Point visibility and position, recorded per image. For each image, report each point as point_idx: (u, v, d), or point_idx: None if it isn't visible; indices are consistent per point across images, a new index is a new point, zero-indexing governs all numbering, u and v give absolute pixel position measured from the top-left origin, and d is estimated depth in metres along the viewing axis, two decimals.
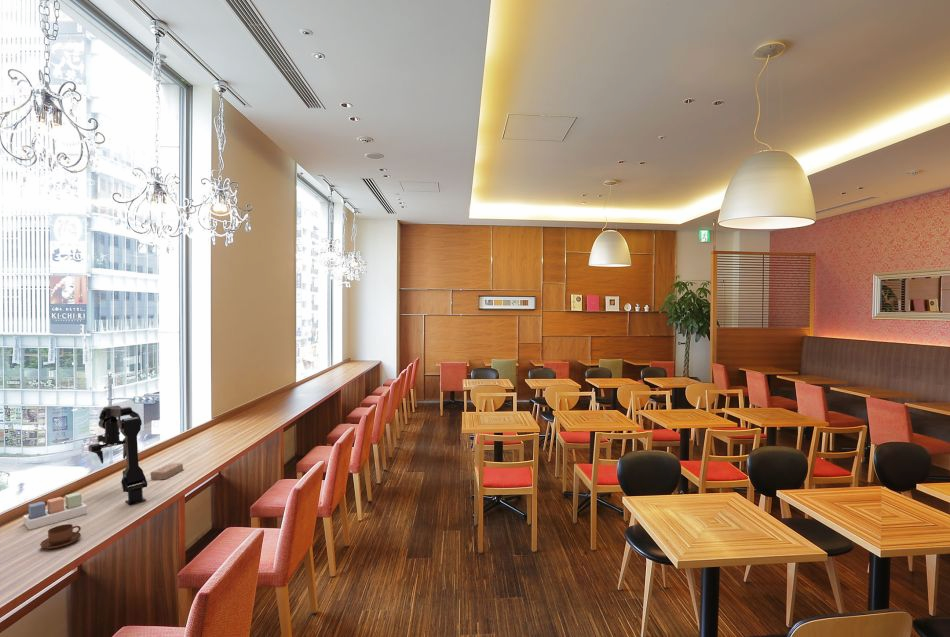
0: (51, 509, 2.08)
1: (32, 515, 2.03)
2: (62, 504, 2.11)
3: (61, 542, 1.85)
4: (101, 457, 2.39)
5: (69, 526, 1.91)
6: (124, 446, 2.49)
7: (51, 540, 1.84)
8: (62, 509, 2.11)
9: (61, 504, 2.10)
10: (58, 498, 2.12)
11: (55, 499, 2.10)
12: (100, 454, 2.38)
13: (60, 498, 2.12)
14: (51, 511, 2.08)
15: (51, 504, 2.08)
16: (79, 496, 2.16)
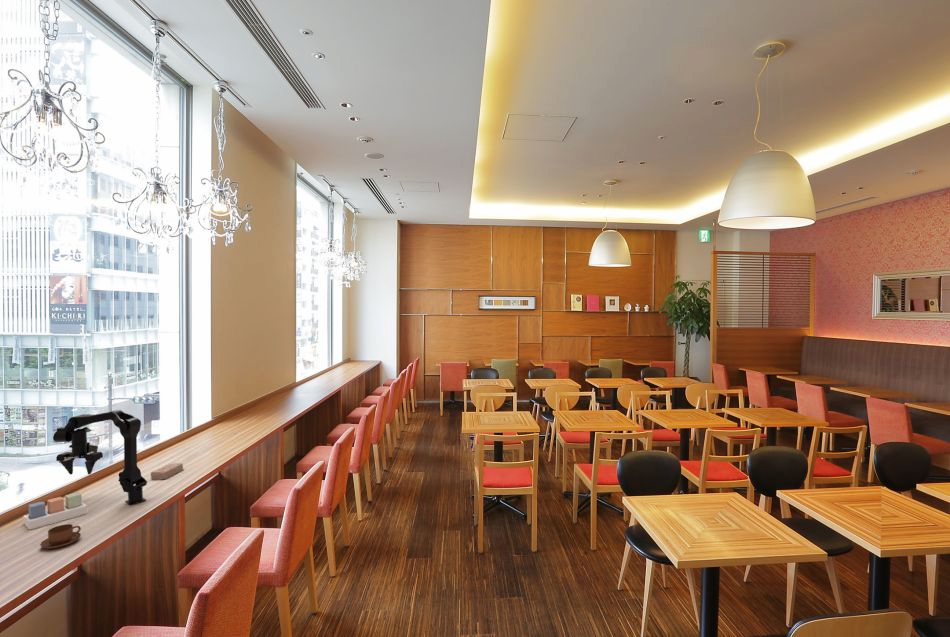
0: (51, 509, 2.08)
1: (32, 515, 2.03)
2: (62, 504, 2.11)
3: (61, 542, 1.85)
4: (66, 468, 2.27)
5: (69, 526, 1.91)
6: None
7: (51, 540, 1.84)
8: (62, 509, 2.11)
9: (61, 504, 2.10)
10: (58, 498, 2.12)
11: (55, 499, 2.10)
12: (63, 465, 2.27)
13: (60, 498, 2.12)
14: (51, 511, 2.08)
15: (51, 504, 2.08)
16: (79, 496, 2.16)
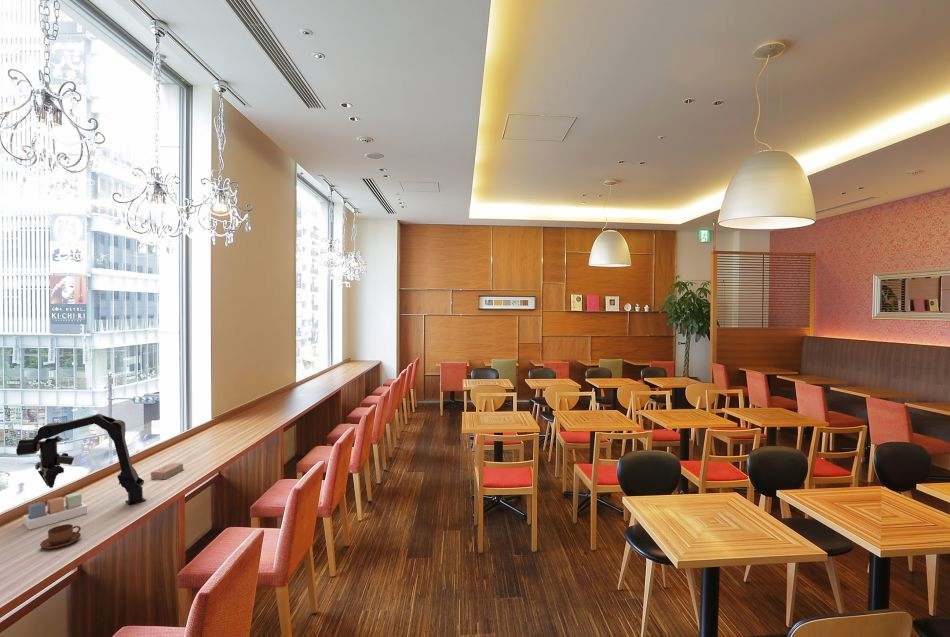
0: (51, 509, 2.08)
1: (32, 515, 2.03)
2: (62, 504, 2.11)
3: (61, 542, 1.85)
4: (42, 478, 2.16)
5: (69, 526, 1.91)
6: None
7: (51, 540, 1.84)
8: (62, 509, 2.11)
9: (61, 504, 2.10)
10: (58, 498, 2.12)
11: (55, 499, 2.10)
12: (40, 475, 2.16)
13: (60, 498, 2.12)
14: (51, 511, 2.08)
15: (51, 504, 2.08)
16: (79, 496, 2.16)
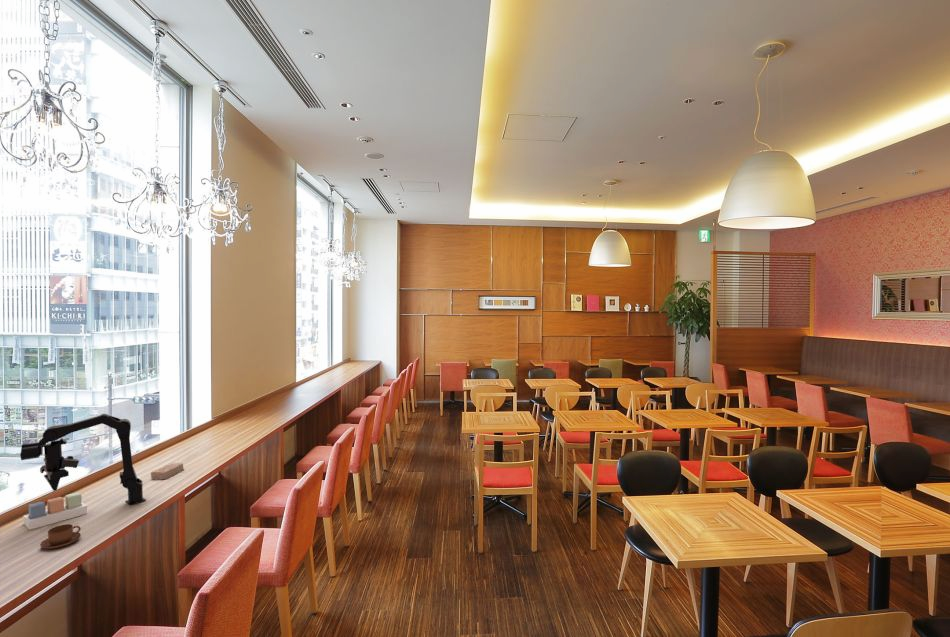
0: (51, 509, 2.08)
1: (32, 515, 2.03)
2: (62, 504, 2.11)
3: (61, 542, 1.85)
4: None
5: (69, 526, 1.91)
6: None
7: (51, 540, 1.84)
8: (62, 509, 2.11)
9: (61, 504, 2.10)
10: (58, 498, 2.12)
11: (55, 499, 2.10)
12: (46, 479, 2.10)
13: (60, 498, 2.12)
14: (51, 511, 2.08)
15: (51, 504, 2.08)
16: (79, 496, 2.16)
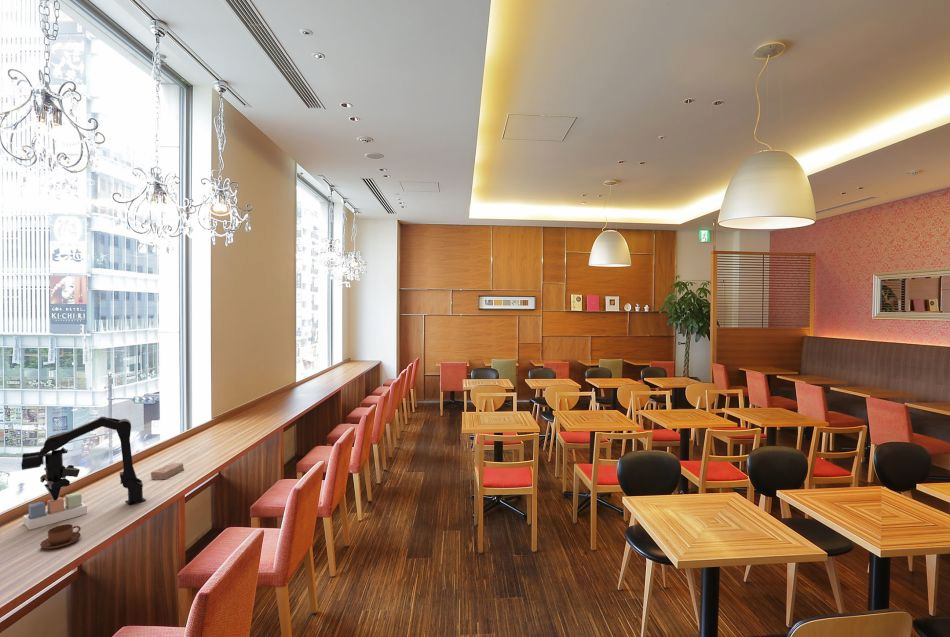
0: (51, 509, 2.08)
1: (32, 515, 2.03)
2: (62, 504, 2.11)
3: (61, 542, 1.85)
4: (49, 492, 2.10)
5: (69, 526, 1.91)
6: None
7: (51, 540, 1.84)
8: (62, 509, 2.11)
9: (61, 504, 2.10)
10: (58, 498, 2.12)
11: (55, 500, 2.10)
12: (47, 489, 2.10)
13: (60, 498, 2.12)
14: (51, 511, 2.08)
15: (51, 504, 2.08)
16: (79, 496, 2.16)
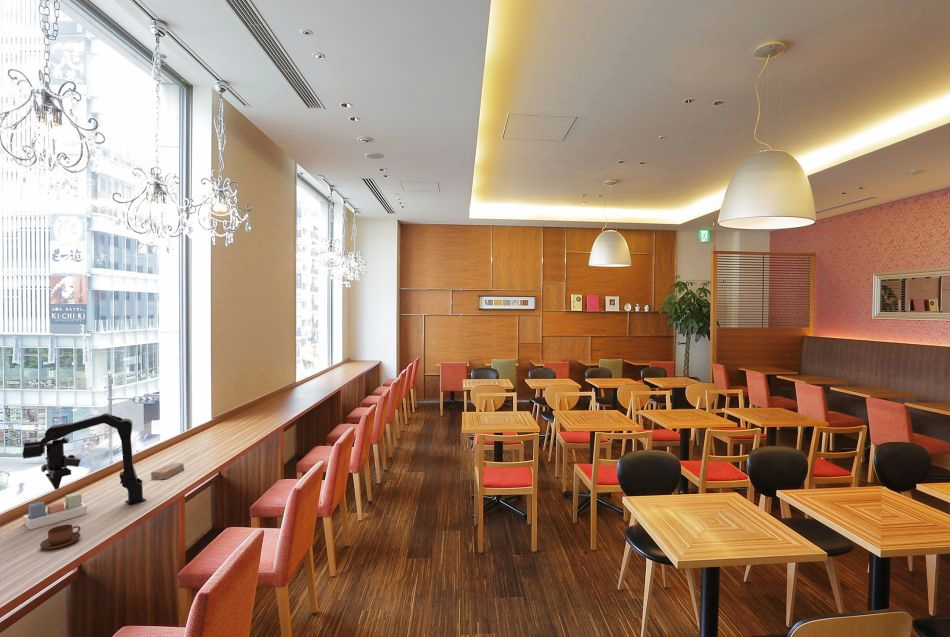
0: None
1: (32, 515, 2.03)
2: (62, 509, 2.11)
3: (61, 542, 1.85)
4: None
5: (69, 526, 1.91)
6: None
7: (50, 540, 1.84)
8: None
9: (61, 509, 2.11)
10: (58, 503, 2.12)
11: (55, 505, 2.10)
12: (48, 478, 2.11)
13: (60, 503, 2.12)
14: None
15: (51, 509, 2.08)
16: (79, 496, 2.16)
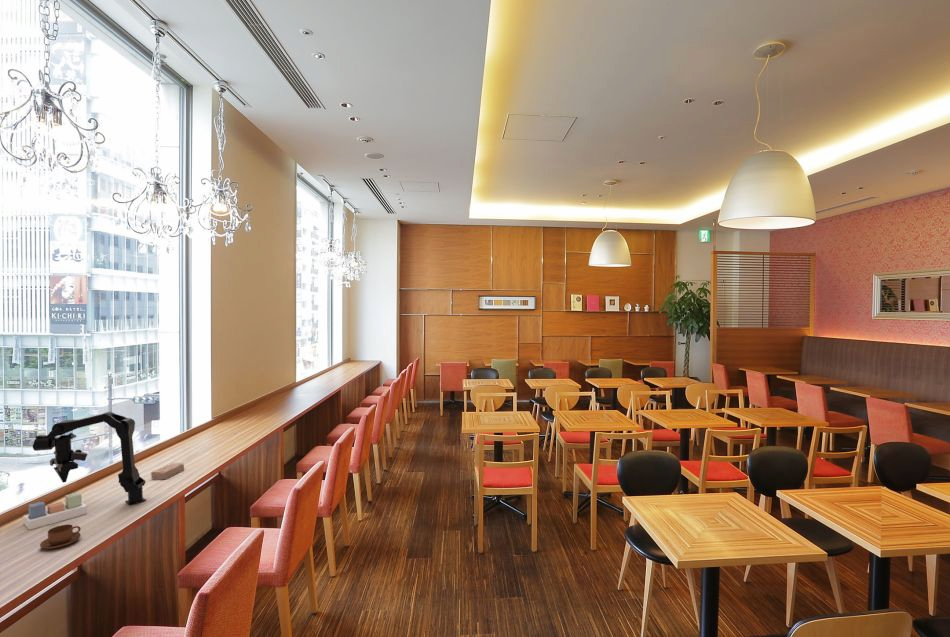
0: None
1: (32, 515, 2.03)
2: (62, 509, 2.11)
3: (61, 542, 1.85)
4: (58, 475, 2.20)
5: (69, 526, 1.91)
6: None
7: (50, 540, 1.84)
8: None
9: (61, 509, 2.11)
10: (58, 503, 2.12)
11: (55, 505, 2.10)
12: (56, 471, 2.20)
13: (60, 503, 2.12)
14: None
15: (51, 509, 2.08)
16: (79, 496, 2.16)
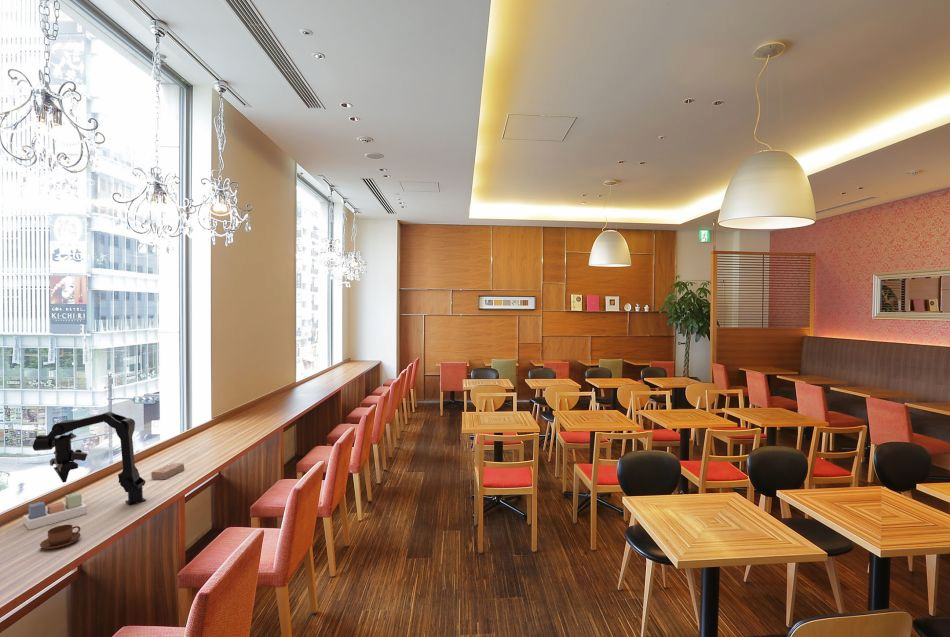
0: None
1: (32, 515, 2.03)
2: (62, 509, 2.11)
3: (61, 542, 1.85)
4: (58, 475, 2.20)
5: (69, 526, 1.90)
6: None
7: (50, 540, 1.84)
8: None
9: (61, 509, 2.11)
10: (58, 503, 2.12)
11: (55, 505, 2.10)
12: (56, 471, 2.20)
13: (60, 503, 2.12)
14: None
15: (51, 509, 2.08)
16: (79, 496, 2.16)
